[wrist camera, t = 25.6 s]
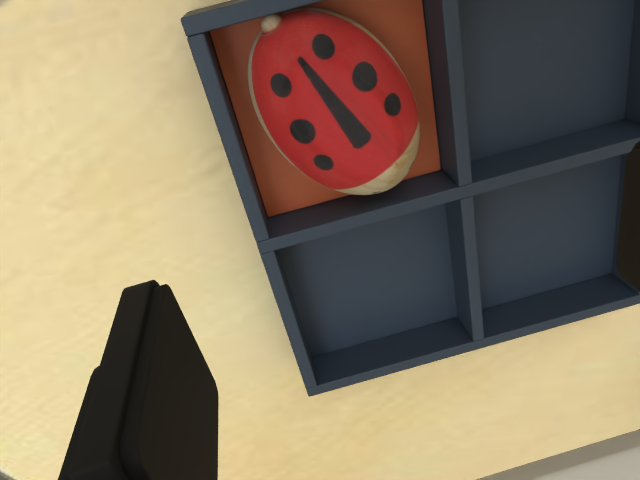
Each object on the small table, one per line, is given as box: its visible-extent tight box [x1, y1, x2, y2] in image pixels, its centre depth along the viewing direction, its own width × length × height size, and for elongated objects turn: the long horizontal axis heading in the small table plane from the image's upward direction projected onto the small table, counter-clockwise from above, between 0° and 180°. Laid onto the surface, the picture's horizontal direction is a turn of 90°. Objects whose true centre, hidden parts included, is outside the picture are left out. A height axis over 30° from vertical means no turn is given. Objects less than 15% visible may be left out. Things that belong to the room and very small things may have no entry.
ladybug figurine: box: [248, 7, 420, 195], centre depth 22 cm, size 7×10×4 cm
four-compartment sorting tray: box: [181, 0, 640, 396], centre depth 26 cm, size 21×21×3 cm
